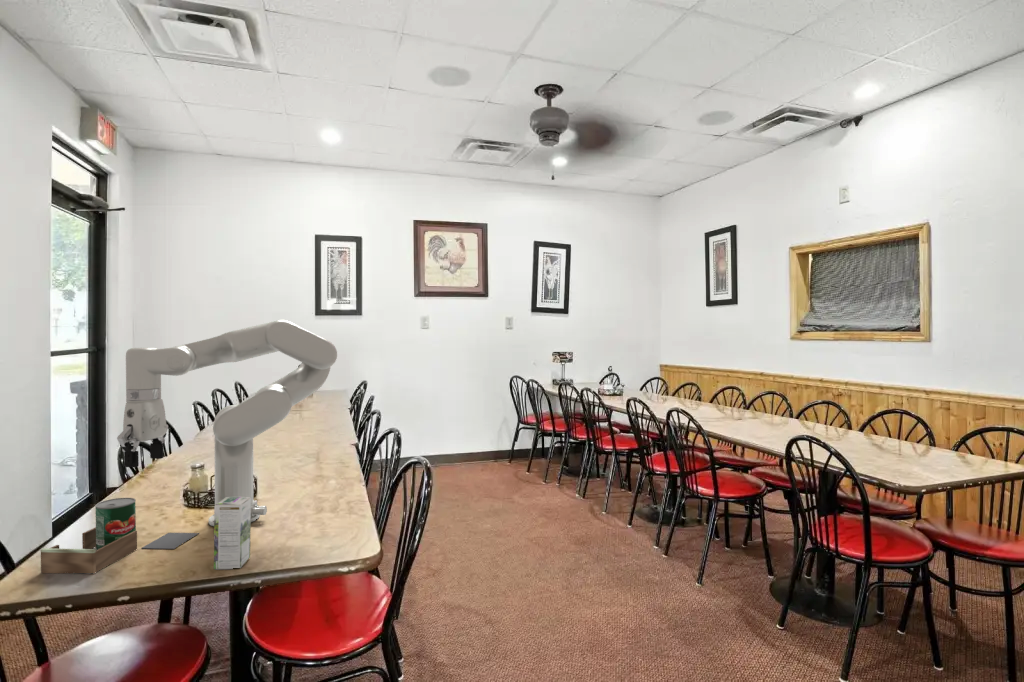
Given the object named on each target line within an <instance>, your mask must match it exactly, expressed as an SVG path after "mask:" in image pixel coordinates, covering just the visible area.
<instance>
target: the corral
mask: <svg viewBox="0 0 1024 682" xmlns="http://www.w3.org/2000/svg"><path fill="white" fill-rule="evenodd" d="M81 535H82V544H81V545H82V548H60V544H55V545H53V546H51V547H49V548H47V547H46V548H44V547H43V548H41V549H40V573H41V574H73V573H94V574H96V573H98V572H100V571H102V570H103V569H105V568H107V567H108V565H109V564H111V563H112V564H114V563H115V561H116V562H118V561H119V560H122V559H123V558H125V557H127V556H128V555H130V554H132V553H134V552H135V551H134V550H136V549H137V550H138V531H137V530H136V531H133V532H131V533H129V534H127V535H125V536H123V537H121V538H119V539H117V540H116V541H114V542H112V543H110V544H108V545H106V546H104V547H102V548H100V549H98V550H96V526H95V527H93V528H91V529H89V530H86V531H84V532H82V534H81ZM94 547H95V549H94ZM92 548H93V549H92ZM137 550H136V551H137ZM133 551H134V552H133ZM131 552H132V553H131ZM129 553H130V554H129ZM127 554H128V555H127ZM126 555H127V556H126ZM124 556H125V557H124ZM122 557H123V558H122ZM117 560H118V561H117ZM113 562H114V563H113ZM112 564H111V565H112ZM106 566H107V567H106ZM109 566H110V565H109ZM104 567H105V568H104ZM102 568H103V569H102ZM101 569H102V570H101ZM99 570H100V571H99ZM97 571H98V572H97ZM95 572H96V573H95Z"/></svg>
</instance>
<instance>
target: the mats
mask: <svg viewBox="0 0 1024 682" xmlns="http://www.w3.org/2000/svg"><path fill="white" fill-rule="evenodd" d="M197 534H198V535H200V532H166V534H164V535H161V536H160V537H159V538H156V539H155V540H153V541H151V542H149V543H147V544H146V545H144V546H143V547H141V548H142V549H141V550H175V549H177V548H179V547H180V546H182V545H183V544H185V543H187V542H188V541H190V540H191V538H192V537H193V538H195V537H196V536H198V535H197ZM194 536H195V537H194ZM193 538H192V539H193ZM189 539H190V540H189ZM187 540H188V541H187ZM186 541H187V542H186ZM184 542H185V543H184ZM182 543H183V544H182ZM181 544H182V545H181ZM179 545H180V546H179ZM178 546H179V547H178ZM176 547H177V548H176Z"/></svg>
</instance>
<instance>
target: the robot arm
mask: <svg viewBox="0 0 1024 682" xmlns="http://www.w3.org/2000/svg"><path fill="white" fill-rule="evenodd" d="M277 352H280V353H282V354H284V355H286V356H288V357H290V358H292V359H295V360H296V361H298V362H300V365H299V366H298V367H297V368H296V369H294V370H292V371H291V372H289V373H288V374H286V375H285V376H283V377H281V378H280V379H277V380H274V381H273V382H272V383H270V384H268V385H265V386H264V387H261V388H260V389H258V390H257V392H256V393H255V394H254V395H253V396H251V397H250V398H248V399H246V400H245V401H243V402H241V403H239V404H232V405H226V406H225V407H223V408H222V409H220V410H219V411H218V413H217V414H216V416H215V417H214V421H213V426H212V430H213V431H212V432H213V436H214V506H215V505H216V504H217V503H219V502H220V501H222V500H223V499H224V498H226V497H235V496H241V497H250V498H251V523H252V522H255V521H256V519H257V520H258V519H259V518H260V516H266V514H267V512H268V509H267V505H259V504H258V500H254V438H256V437H258V436H259V435H261V434H263V433H264V432H266V431H268V430H270V429H271V428H273V427H274V426H276V425H278V424H279V423H281V422H283V420H285V419H286V418H287V416H288V415H289V414H290V412H291V410H292V407H294V406H296V405H297V404H299V403H300V402H302V401H304V400H305V399H306V398H308V397H310V396H312V394H313V395H314V393H315V392H317V391H318V390H320V389H321V387H322V386H323V385H324V383H325V382H326V380H327V379H328V377H329V374H330V371H331V367H332V366H333V365H335V363H336V361H337V359H338V351H337V348H336V346H335V345H334V344H333V343H332V342H331V341H329V340H328V339H325V338H324V337H322V336H319V335H318V334H315V333H313V332H311V331H309V330H307V329H305V328H303V327H302V326H299V325H297V324H295V323H294V322H292V321H288V320H285V319H278V320H273V321H269V322H265V323H262V324H258V325H257V324H256V325H252V326H249V327H244V328H240V329H236V330H232V331H228V332H225V333H222V334H220V335H217V336H213V337H210V338H206V339H203V340H198V341H194V342H189V343H184V344H181V345H176V346H173V347H166V348H165V347H164V348H156V347H133V348H129V349H128V350H127V351H126V352H125V390H126V391H125V397H126V398H125V401H126V403H125V406H124V414H123V425H122V427H123V428H122V431H121V432H120V433H119V435H117V437H116V439H117V441H118V444H119V446H120V448H122V452H124V453H123V455H124V467H125V468H137V467H139V463H140V462H139V450H137V449H138V447H139V445H140V443H141V442H148V441H151V443H150V444H149V452H150V453H149V454H150V455H149V458H150V459H155V460H158V459H159V460H160V459H163V458H164V443H165V441H166V440H165V439H166V436H167V432H168V428H169V425H168V424H167V420H166V419H167V417H166V411H165V404H164V401H163V399H162V376H164V375H165V376H175V377H177V376H183V375H185V374H187V373H188V372H192V371H195V370H198V369H204V368H207V367H210V366H214V365H215V366H216V365H219V364H224V363H225V364H226V363H237V362H242V361H246V360H250V359H253V358H257V357H261V356H265V355H269V354H272V353H277ZM208 524H209V526H211V527H214V514H212V515H211V516H209V518H208Z"/></svg>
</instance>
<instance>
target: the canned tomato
mask: <svg viewBox="0 0 1024 682" xmlns="http://www.w3.org/2000/svg"><path fill="white" fill-rule="evenodd" d="M94 506H95V527H96V547H95V549H96V550H98V549H100V548H102V547H104V546H106V545H108V544H110V543H112V542H114V541H116V540H117V539H119V538H121V537H123V536H125V535H127V534H129V533H131V532H133V531H137V526H136V524H137V522H136V520H137V519H136V518H137V517H136V515H137V513H136V512H137V511H136V508H137V506H136V499H135V498H133V497H118V498H112V499H106V500H103V501H99V502H98V503H96V504H95V505H94Z"/></svg>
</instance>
